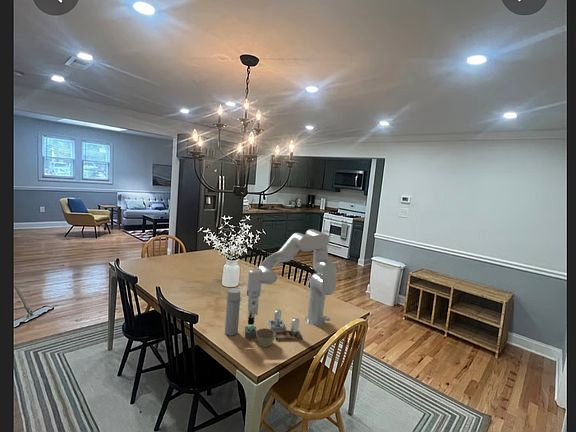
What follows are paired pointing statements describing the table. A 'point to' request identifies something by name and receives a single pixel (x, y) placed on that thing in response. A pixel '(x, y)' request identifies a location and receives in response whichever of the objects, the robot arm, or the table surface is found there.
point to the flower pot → (265, 337)
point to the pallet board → (286, 335)
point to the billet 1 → (277, 318)
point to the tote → (276, 327)
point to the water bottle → (232, 311)
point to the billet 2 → (294, 327)
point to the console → (250, 333)
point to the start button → (250, 327)
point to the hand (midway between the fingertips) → (250, 323)
